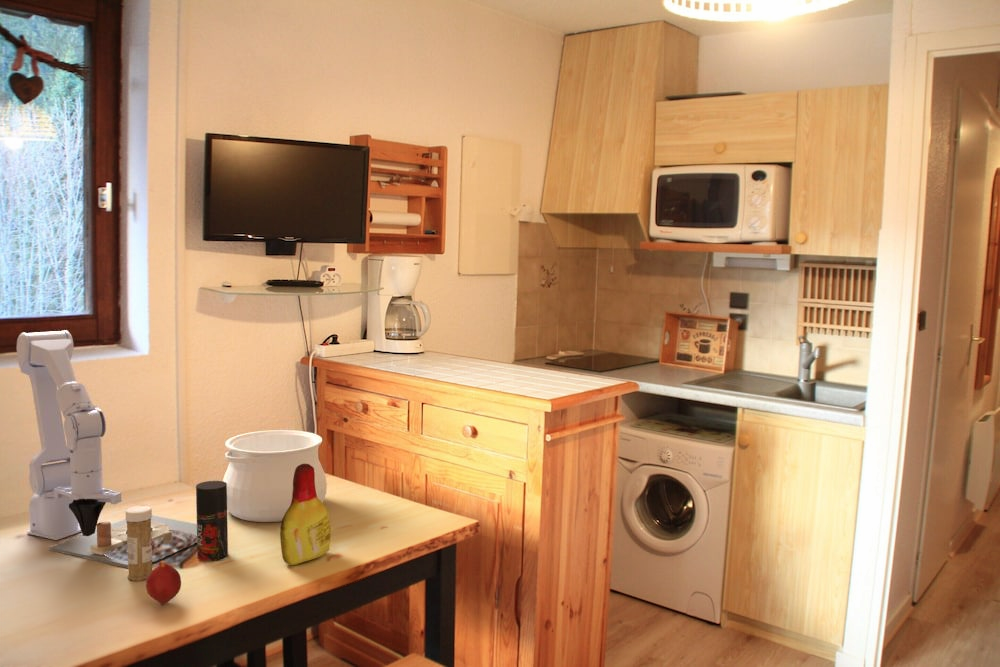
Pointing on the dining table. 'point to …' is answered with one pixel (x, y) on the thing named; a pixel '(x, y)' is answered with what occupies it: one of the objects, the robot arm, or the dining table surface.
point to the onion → (163, 583)
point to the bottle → (304, 521)
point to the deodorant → (212, 521)
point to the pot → (269, 472)
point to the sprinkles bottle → (139, 542)
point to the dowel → (167, 536)
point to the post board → (83, 543)
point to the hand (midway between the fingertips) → (88, 534)
